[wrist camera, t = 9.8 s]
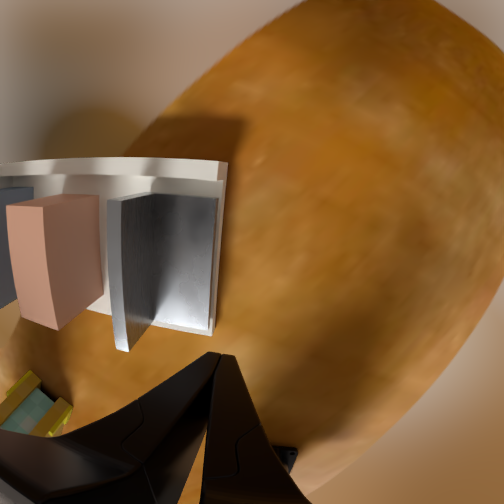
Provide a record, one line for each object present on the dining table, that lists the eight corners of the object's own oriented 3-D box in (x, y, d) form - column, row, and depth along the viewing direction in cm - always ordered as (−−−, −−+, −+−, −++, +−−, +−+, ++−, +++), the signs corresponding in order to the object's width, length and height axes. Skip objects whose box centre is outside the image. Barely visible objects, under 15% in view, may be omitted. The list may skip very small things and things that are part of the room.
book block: (103, 294, 19) (58, 330, 14) (68, 286, 19) (21, 316, 14) (99, 194, 17) (42, 206, 12) (61, 193, 17) (6, 205, 12)
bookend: (209, 325, 18) (191, 366, 14) (146, 313, 19) (116, 348, 14) (218, 197, 16) (197, 207, 12) (146, 191, 16) (106, 199, 12)
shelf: (214, 328, 20) (190, 390, 14) (22, 283, 21) (-26, 310, 15) (228, 162, 17) (199, 158, 11) (15, 162, 18) (-42, 168, 12)
